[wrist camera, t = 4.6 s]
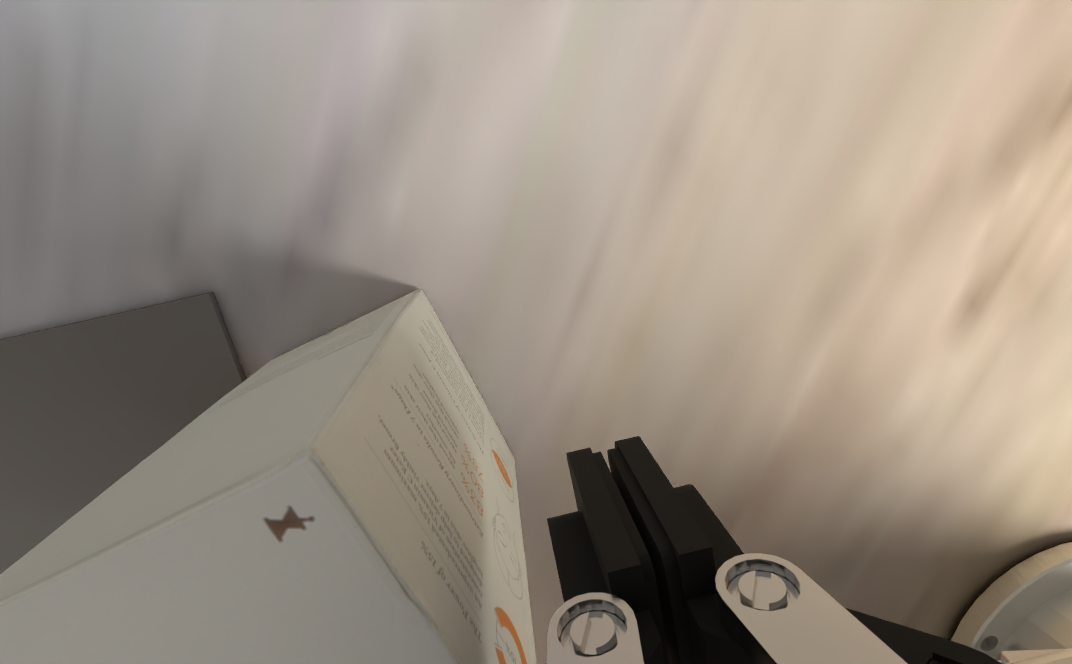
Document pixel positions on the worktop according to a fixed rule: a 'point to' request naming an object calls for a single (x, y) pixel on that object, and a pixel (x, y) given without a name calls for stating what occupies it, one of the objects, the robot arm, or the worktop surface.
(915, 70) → the worktop surface
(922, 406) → the worktop surface
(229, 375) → the mat
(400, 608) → the small box
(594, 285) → the worktop surface
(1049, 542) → the worktop surface
